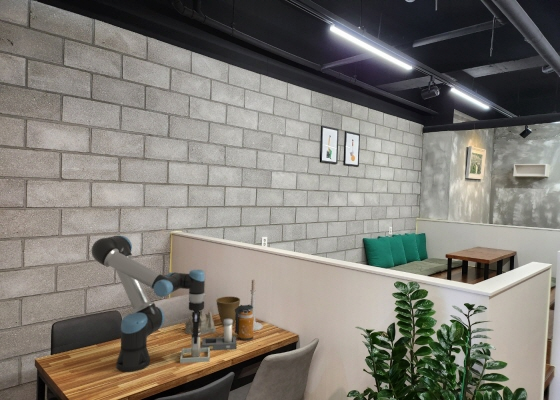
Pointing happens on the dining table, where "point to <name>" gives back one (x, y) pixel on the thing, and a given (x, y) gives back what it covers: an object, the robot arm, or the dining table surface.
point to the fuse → (228, 330)
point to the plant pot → (227, 308)
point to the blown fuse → (197, 352)
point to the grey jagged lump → (202, 323)
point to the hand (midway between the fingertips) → (195, 347)
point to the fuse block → (219, 343)
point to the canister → (244, 322)
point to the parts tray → (195, 359)
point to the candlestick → (256, 325)
